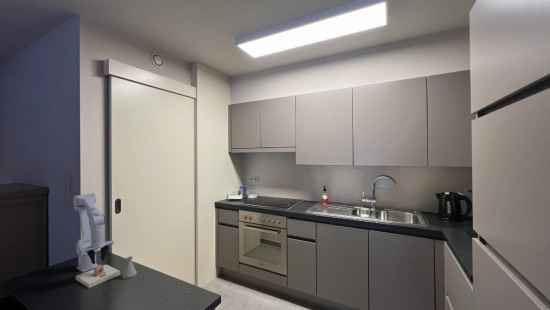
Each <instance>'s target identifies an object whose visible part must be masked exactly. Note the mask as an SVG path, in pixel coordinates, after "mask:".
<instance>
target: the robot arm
mask: <svg viewBox="0 0 550 310" xmlns="http://www.w3.org/2000/svg"><path fill="white" fill-rule="evenodd" d="M72 201H73V203H72V204H73V209H74V210H75V211H77V212H78V214H79V223H80V231H81V238H79V239H78V241H77V242H76V244H75V245H76V246H75V247H76V248H75V250H76V254H77V255H78V260H77V261H78V263H77V266H76V269H77V270H78V271H80V272H82V273H85V272H88V271H90V270H93V269H94V267H95V266H98V265H99V264H98V263H97V252H98V250H99V249H100V260H101V261H103V262H104V261H105V259H106V255H107V253H108V251H109V249H110V245H111V246H113V245H114V243H115V242H114V240H113V239H111V240H109V241H108V240H107V241H105V225H106V223H107V218H106V217H107V216H106V215H105V213H101V211H100V209H99V207H96V206H95V204H96V202H97V195H96V193H94V192H93V193H88V194H87V193H86V194H79V195H77V194H76V195H74V196H73V199H72Z"/></svg>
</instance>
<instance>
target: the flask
mask: <svg viewBox="0 0 550 310" xmlns="http://www.w3.org/2000/svg"><path fill="white" fill-rule="evenodd" d="M125 260H126V262H125V267H124V270H123V271H122V275H121V279H124V280H127V279H131V278H134V277H135V276H137V275H138V273H137V270H136V268H135V264H134V263H133V256H127V257H125Z"/></svg>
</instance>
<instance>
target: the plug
mask: <svg viewBox="0 0 550 310" xmlns="http://www.w3.org/2000/svg"><path fill="white" fill-rule="evenodd" d="M93 269H94V277H97V276H99V275H102V274H104V266H103V264H98V266H95V267H94V268H93Z"/></svg>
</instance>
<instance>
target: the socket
mask: <svg viewBox="0 0 550 310" xmlns="http://www.w3.org/2000/svg"><path fill="white" fill-rule="evenodd" d="M102 266H104V274H102V275H99V276H97V277H94V268H92V269H90V270H87V271H84V272H82V273H80V274H77V275H75V280H76V281H77V282H79V283H81V284H82V285H83V286H85V287H86V288H88V289H90V288H92V287H95V286H97V285H99V284H101V283H104V282H106V281H108V280H111V279H113V278H115V277H118V276H119V275H121V271H120V270H119V269H117V268H115V267H112V266H110V265H108V264H102Z"/></svg>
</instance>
